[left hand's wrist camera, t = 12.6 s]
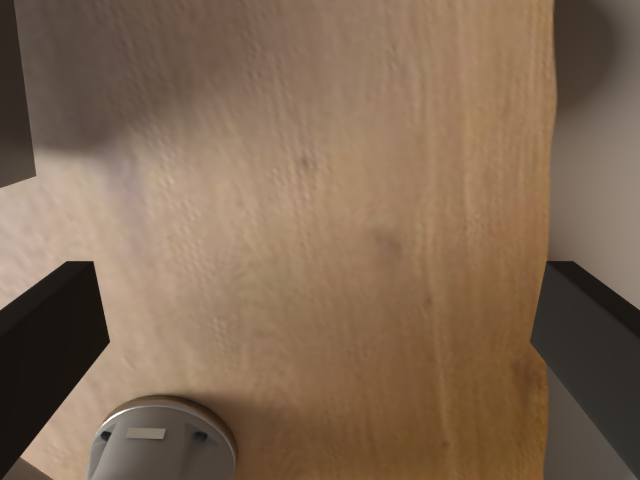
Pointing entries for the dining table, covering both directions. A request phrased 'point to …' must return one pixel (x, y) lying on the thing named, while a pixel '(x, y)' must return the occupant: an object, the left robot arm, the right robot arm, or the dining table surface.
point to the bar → (13, 105)
